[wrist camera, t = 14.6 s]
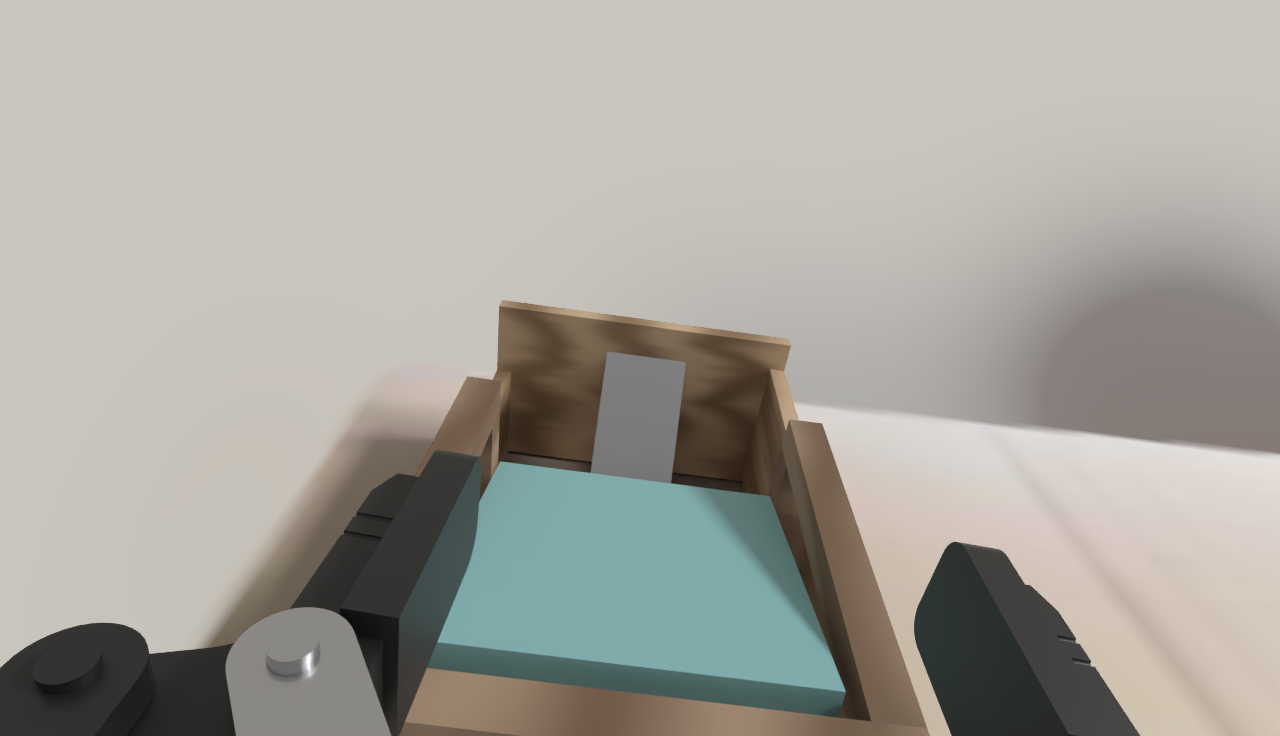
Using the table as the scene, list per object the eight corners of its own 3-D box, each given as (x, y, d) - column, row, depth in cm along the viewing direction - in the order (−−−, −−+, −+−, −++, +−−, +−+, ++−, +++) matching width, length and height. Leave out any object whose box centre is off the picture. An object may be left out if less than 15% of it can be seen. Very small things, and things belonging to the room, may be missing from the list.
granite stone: (685, 362, 43) (664, 539, 42) (678, 371, 48) (658, 530, 47) (607, 351, 43) (582, 528, 42) (607, 362, 48) (585, 520, 47)
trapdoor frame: (752, 474, 53) (802, 286, 46) (847, 1044, 25) (1026, 795, 17) (497, 441, 53) (504, 244, 45) (288, 984, 24) (208, 698, 16)
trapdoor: (765, 516, 31) (769, 496, 30) (837, 721, 19) (845, 691, 19) (498, 482, 30) (500, 461, 30) (406, 669, 19) (408, 638, 18)
